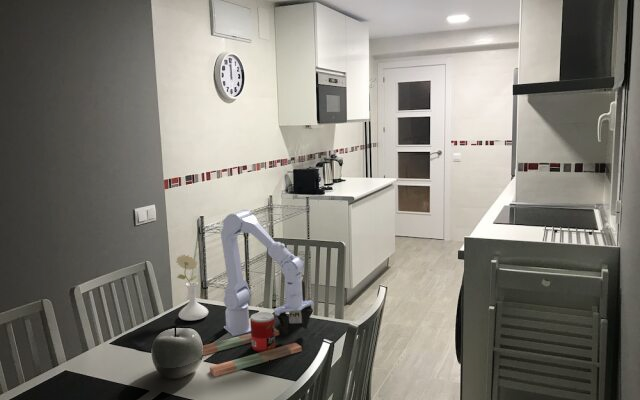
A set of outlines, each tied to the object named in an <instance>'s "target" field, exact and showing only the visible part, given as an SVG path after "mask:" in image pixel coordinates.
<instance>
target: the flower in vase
mask: <svg viewBox="0 0 640 400" xmlns="http://www.w3.org/2000/svg"><path fill="white" fill-rule="evenodd" d="M175 261H176V263H177V265H178V266H179V267H180V268H182V269H183V270H184V272H186V271H187V270H189V271H191V270H194V269H196V268H197V261H196V259H195V258H194V257H192V256H190V255H188V254H187V255H186V254H181V255H180V256H177V257H176V260H175ZM197 276H198V275H197V274H196V275H193V276H192V277H190V279H189V278H188V277H187V275H186V273H184V274H178V275H177V277H176V278H177V279H181V280H187V282H186V283H185V284H184V286H186V288H187V290H188V295H189V301H188V303H187V304H185V306H184V307H182V309H181V310H180V311H179V313H178V318H180V319H181V320H183V321H187V322H188V321H197V320H198V321H199V320H201V319H203V318H205V317H207V316H208V314H209V309H208V308H207V307H206V306H204V305H202V304H200V303H199V302H197V298H196V290H197V286H198V285H199V282H197V281H193V280H194V279H196V278H197Z"/></svg>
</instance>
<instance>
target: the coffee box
mask: <svg viewBox="0 0 640 400" xmlns="http://www.w3.org/2000/svg"><path fill="white" fill-rule="evenodd" d="M301 277H302V301H308V299H307V279H306V278H307V277H306V274H301ZM288 317H289V319H288V324H302V316H301V310H299V311H297V310H295V311H291V312H288Z"/></svg>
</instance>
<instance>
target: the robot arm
mask: <svg viewBox="0 0 640 400" xmlns="http://www.w3.org/2000/svg"><path fill="white" fill-rule="evenodd" d="M222 224H223V226H222V229H221V232H220V238H221V245H222V250H223V251H222V252H223V258H224V264H225V271H226V277H227V283H226V285H225V288H224V297H223V302H224V303H223V304H224V306H225V307H226V309H225V312H224V313H225V325H224V326H223V328H224V329H225V330H226V332H228V333H229V334H230V335H232V337H235V336H236V337H237V336H241V335H245V334H249V333H251V326H250V313H249V301H250V300H251V298H252V292H251V290H250V288H249V285H248V281H246V280H244V275H243V269H242V262H241V255H240V247H239V243H238V240H239V239H238V236H239V235H240V234H241V233H243V234H251V235H252V236H253V237H254V238H256V239H257V240H258V242H260V243H261V244H262V245H263V246H264V247H265V248H267V254H268V255H269V256H270V258H272V260H273V261H274V262H275V263H276V264H278V265H279V267H280V268H281V273H282V275H283V276H284V286H285V287H284V288H285V290H284V291H285V292H284V293H285V303H284V304H283V305H280V306H279V307H276V308H274V309H273V311H274V314H273V315H274V316H276V317H277V319H278V321H279V323H280V325H281V330H282V333H283V334H285V335H288V333H289V327H288V326H289V315H287V314H288V313H289V312H291V311H295V310H297V311H299V310H301V316H302V323H301V327H302V328H303V329H305V330H307V329H308V324H309V321H310V318H311V316H312V314H313V312H314V309H313V308H314V307H315V305H314V304H315V302H314V301H313V300H311V299H309V300H307V301H302V277H301V275H302V271H303V270H304V268H305V264H304V261H303V260H302V258H301V257H300V256H297V255H296V256H295V254H293V253H292V252H290V250H288V249H287V247H286V245H285V244H284V243H283V242H280V241H275V240H274V238H272V236H271V235H270V234H269V233H268V232H267V231H266V230H265V228H264V227H263V226H262V225H261V224H260V223H259V221H258V219H257V217H256V216H255V215H254V214H253V213H252V212H251V211H250V210H248V209H242V210H238V211H236V212H234V213H230V214H228V215H226V216H225V218H224V219H222Z"/></svg>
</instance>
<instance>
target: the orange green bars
mask: <svg viewBox="0 0 640 400" xmlns="http://www.w3.org/2000/svg"><path fill="white" fill-rule="evenodd" d="M277 336H280V330H278V329H277V328H276V327H275V337H277ZM250 343H251V344H252V341H251V332H249V333H245V334H241V335H237V336H236V337H235V336H233V337H231V338H227V339H223V340H220V341H215V342H212V343H207V344H205V345H204V344H203V345H202V346H203V356H205V355H210V354H213V353H218V352H220V351H224V350H229V349H231V348H235V347H240V346H242V345H247V344H250ZM302 349H303V348H302V346H301V345H300V344H298V343H297V342H292V343H289V344H287V345H286V344H285V345H282V346H279V347H274V349H271V350H267V351H264V352H258V353H254V354H250V355H247V356H243V357H240V358H236V359H233V360H229V361H225V362H222V363H218V364H215V365H211V366H209V372H210V373H211V374H212V375H213V376H214V377H219V376H222V375H226V374H229V373H233V372H235V371H238V370H239V371H240V370H241V369H247V368H248V367H252V366H256V365H259V364H262V363H266V362H269V360H270V361H273V360H275V359H280V358H282V357H287V356H289V355H292V354H293V355H294V354H297V353H299V352H302Z"/></svg>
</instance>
